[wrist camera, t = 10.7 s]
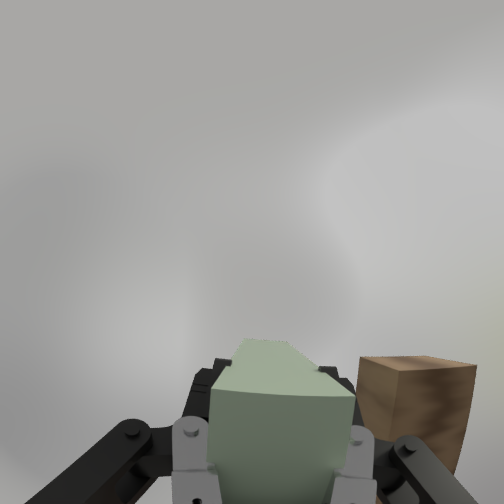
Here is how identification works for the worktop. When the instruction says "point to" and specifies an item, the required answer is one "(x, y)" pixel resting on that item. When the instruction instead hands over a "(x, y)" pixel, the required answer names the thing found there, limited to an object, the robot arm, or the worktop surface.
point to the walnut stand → (417, 401)
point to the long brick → (276, 426)
